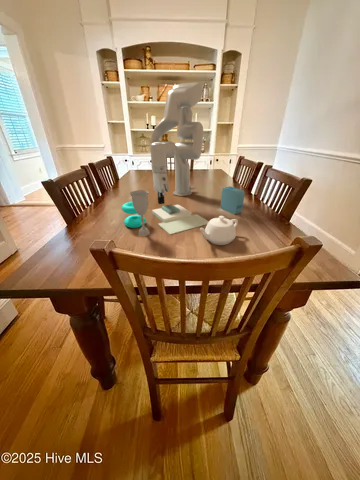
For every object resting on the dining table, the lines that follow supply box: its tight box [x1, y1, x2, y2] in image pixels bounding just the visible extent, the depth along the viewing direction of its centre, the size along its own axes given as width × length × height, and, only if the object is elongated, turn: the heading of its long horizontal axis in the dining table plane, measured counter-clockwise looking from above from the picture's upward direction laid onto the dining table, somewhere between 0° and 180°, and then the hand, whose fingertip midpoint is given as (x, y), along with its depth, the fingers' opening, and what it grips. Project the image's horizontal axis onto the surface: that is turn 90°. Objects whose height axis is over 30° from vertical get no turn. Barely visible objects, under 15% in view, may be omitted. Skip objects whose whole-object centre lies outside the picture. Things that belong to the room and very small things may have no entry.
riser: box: [151, 204, 193, 223], centre depth 104 cm, size 16×14×2 cm
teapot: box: [199, 215, 239, 246], centre depth 79 cm, size 20×12×10 cm, turn 123°
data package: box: [220, 185, 245, 215], centre depth 105 cm, size 12×4×12 cm, turn 30°
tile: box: [160, 203, 180, 215], centre depth 104 cm, size 6×9×2 cm, turn 30°
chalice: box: [129, 189, 151, 237], centre depth 82 cm, size 7×7×18 cm
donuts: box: [121, 201, 147, 229], centre depth 92 cm, size 10×10×10 cm
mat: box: [157, 213, 210, 236], centre depth 94 cm, size 22×12×1 cm, turn 120°
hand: (161, 203), depth 112 cm, fingers closed
